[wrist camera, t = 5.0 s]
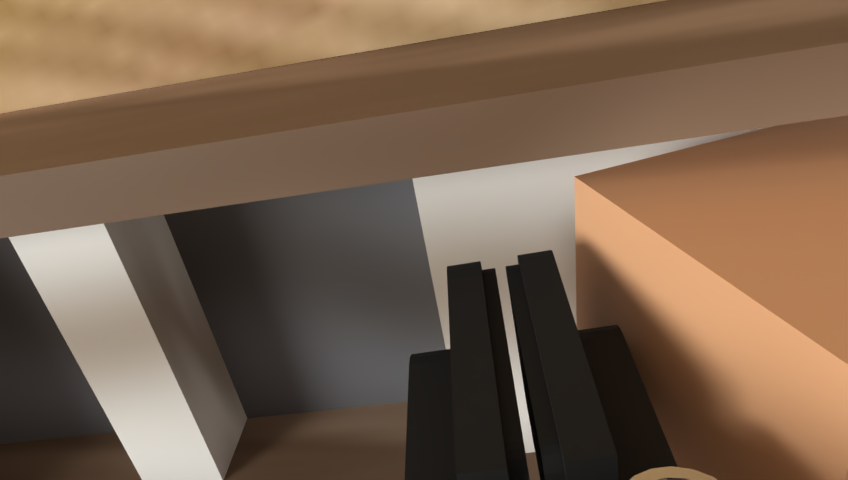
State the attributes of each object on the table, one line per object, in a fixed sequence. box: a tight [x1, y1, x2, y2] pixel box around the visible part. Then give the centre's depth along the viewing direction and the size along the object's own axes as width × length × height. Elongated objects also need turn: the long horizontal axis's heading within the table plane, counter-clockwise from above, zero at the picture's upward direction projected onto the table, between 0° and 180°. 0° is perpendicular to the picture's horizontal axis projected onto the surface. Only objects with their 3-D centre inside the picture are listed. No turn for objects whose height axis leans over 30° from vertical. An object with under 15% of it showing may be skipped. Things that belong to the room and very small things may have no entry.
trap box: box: [0, 0, 848, 480], centre depth 13 cm, size 10×30×5 cm, turn 100°
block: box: [574, 115, 848, 480], centre depth 9 cm, size 5×5×5 cm
